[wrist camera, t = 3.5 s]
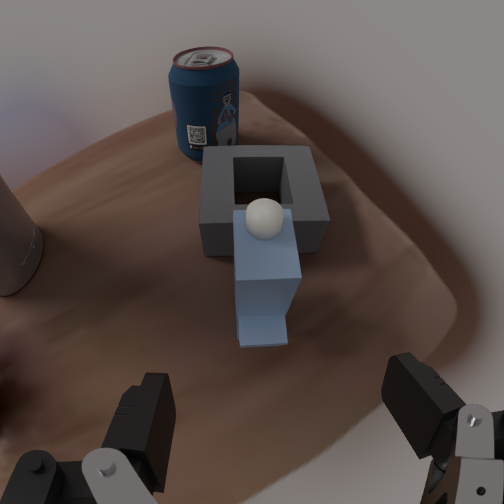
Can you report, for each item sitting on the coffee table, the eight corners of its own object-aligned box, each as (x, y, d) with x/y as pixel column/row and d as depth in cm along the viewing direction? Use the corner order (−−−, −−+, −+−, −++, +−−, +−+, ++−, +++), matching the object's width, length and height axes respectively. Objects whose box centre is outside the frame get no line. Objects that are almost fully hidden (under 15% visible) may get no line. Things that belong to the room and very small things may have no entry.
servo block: (278, 360, 22) (312, 306, 12) (238, 362, 22) (237, 310, 12) (269, 271, 26) (288, 171, 16) (234, 273, 26) (232, 172, 16)
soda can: (190, 128, 36) (182, 44, 25) (243, 134, 35) (246, 46, 25) (170, 163, 32) (153, 69, 22) (230, 171, 32) (229, 71, 21)
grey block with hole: (204, 256, 26) (198, 223, 22) (207, 181, 31) (203, 146, 27) (317, 252, 27) (330, 220, 23) (301, 180, 31) (309, 146, 27)
